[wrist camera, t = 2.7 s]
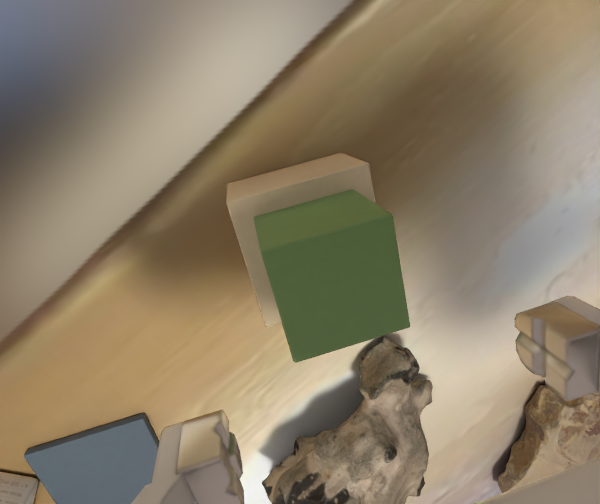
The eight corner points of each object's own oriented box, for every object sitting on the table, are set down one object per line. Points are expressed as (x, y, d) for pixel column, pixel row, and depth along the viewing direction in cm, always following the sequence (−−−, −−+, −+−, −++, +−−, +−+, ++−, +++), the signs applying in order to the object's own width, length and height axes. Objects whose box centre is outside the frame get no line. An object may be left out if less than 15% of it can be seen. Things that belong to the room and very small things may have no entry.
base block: (341, 152, 23) (369, 162, 19) (362, 258, 26) (391, 290, 21) (226, 183, 23) (225, 202, 18) (259, 288, 25) (266, 328, 21)
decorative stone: (361, 312, 26) (458, 445, 18) (433, 353, 31) (535, 471, 23) (222, 468, 30) (252, 639, 21) (307, 482, 35) (358, 626, 26)
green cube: (353, 188, 19) (392, 213, 14) (370, 279, 21) (411, 327, 16) (252, 216, 19) (260, 251, 14) (279, 306, 20) (294, 364, 16)
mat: (144, 412, 27) (142, 418, 27) (184, 491, 30) (183, 498, 29) (27, 448, 27) (22, 456, 26) (79, 526, 29) (76, 534, 29)
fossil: (465, 417, 32) (492, 451, 29) (631, 329, 32) (677, 353, 29) (500, 499, 36) (527, 536, 33) (648, 421, 36) (690, 451, 33)
